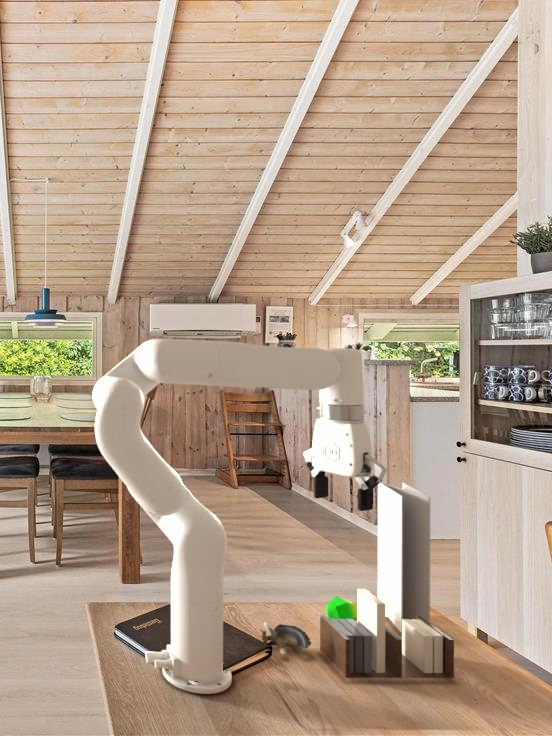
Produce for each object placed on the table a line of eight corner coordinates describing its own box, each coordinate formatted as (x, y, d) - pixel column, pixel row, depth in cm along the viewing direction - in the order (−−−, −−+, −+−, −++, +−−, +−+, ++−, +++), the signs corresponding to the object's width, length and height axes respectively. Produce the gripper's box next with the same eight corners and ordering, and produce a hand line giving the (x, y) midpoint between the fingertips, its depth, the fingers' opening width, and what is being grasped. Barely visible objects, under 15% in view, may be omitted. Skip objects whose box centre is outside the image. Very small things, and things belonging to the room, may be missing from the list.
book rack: (345, 682, 115) (345, 639, 115) (320, 655, 125) (320, 615, 125) (454, 683, 115) (454, 640, 115) (419, 655, 125) (419, 615, 125)
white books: (424, 673, 116) (424, 636, 116) (401, 654, 123) (401, 618, 123) (443, 673, 116) (443, 636, 116) (419, 654, 123) (419, 619, 123)
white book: (376, 673, 116) (376, 603, 116) (356, 654, 123) (357, 588, 123) (385, 673, 116) (385, 603, 116) (364, 654, 123) (365, 588, 123)
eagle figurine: (265, 658, 121) (314, 656, 119) (257, 618, 125) (305, 615, 123) (265, 663, 127) (312, 661, 125) (258, 625, 131) (303, 622, 129)
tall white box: (430, 639, 131) (430, 497, 131) (401, 637, 132) (401, 496, 132) (403, 610, 145) (403, 482, 145) (377, 608, 146) (377, 481, 146)
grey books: (346, 673, 116) (346, 635, 116) (327, 653, 123) (327, 618, 123) (372, 673, 116) (372, 635, 116) (352, 653, 123) (352, 618, 123)
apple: (329, 593, 137) (364, 590, 138) (314, 603, 141) (349, 599, 143) (344, 627, 132) (380, 623, 134) (329, 636, 137) (364, 632, 139)
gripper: (291, 409, 124) (291, 495, 124) (369, 420, 108) (370, 518, 108) (318, 407, 127) (319, 491, 127) (398, 417, 111) (399, 512, 111)
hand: (342, 503), depth 118 cm, fingers open, 9 cm apart
